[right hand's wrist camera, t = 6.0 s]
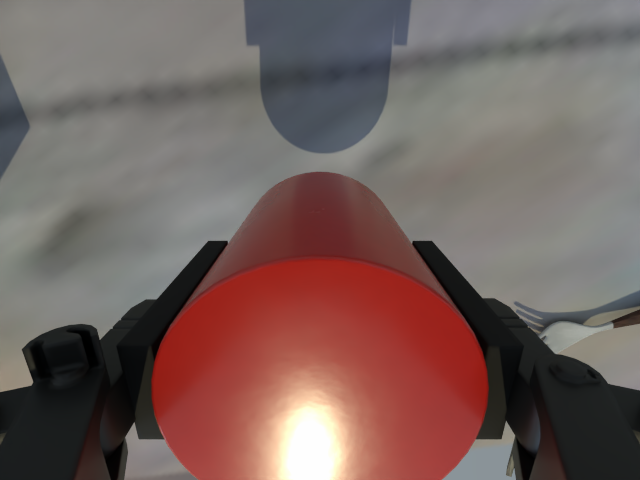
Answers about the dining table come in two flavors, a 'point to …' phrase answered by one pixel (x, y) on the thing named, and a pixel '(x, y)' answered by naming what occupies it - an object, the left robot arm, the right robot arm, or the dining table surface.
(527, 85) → the dining table surface
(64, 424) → the right robot arm
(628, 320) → the fork
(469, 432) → the tin
